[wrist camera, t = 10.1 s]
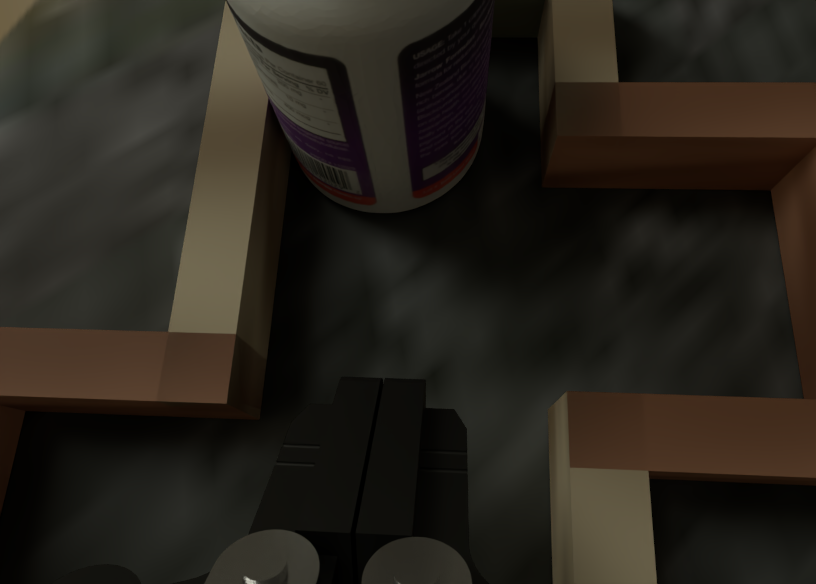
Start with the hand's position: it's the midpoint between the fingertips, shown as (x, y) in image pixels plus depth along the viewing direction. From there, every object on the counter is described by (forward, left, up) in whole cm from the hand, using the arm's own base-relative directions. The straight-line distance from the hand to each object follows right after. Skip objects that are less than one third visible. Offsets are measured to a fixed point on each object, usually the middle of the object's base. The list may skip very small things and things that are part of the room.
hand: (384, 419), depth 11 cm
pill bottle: (-5, -7, -4) cm, 10 cm away
